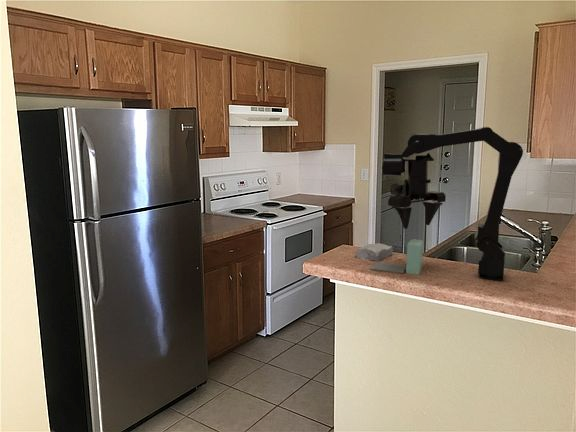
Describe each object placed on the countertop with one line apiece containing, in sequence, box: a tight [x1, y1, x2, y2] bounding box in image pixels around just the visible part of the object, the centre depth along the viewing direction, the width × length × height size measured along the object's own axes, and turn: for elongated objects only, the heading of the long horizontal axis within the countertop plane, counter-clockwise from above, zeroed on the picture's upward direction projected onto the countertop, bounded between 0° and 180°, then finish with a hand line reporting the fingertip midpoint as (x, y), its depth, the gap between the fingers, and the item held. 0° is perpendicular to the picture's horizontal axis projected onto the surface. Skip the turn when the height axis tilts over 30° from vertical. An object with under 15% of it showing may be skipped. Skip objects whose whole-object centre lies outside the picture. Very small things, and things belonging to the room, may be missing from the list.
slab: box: [405, 238, 424, 275], centre depth 147 cm, size 4×7×9 cm, turn 156°
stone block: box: [355, 243, 394, 262], centre depth 164 cm, size 12×5×10 cm
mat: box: [370, 261, 406, 274], centre depth 150 cm, size 10×8×1 cm
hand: (416, 226), depth 147 cm, fingers open, 9 cm apart
